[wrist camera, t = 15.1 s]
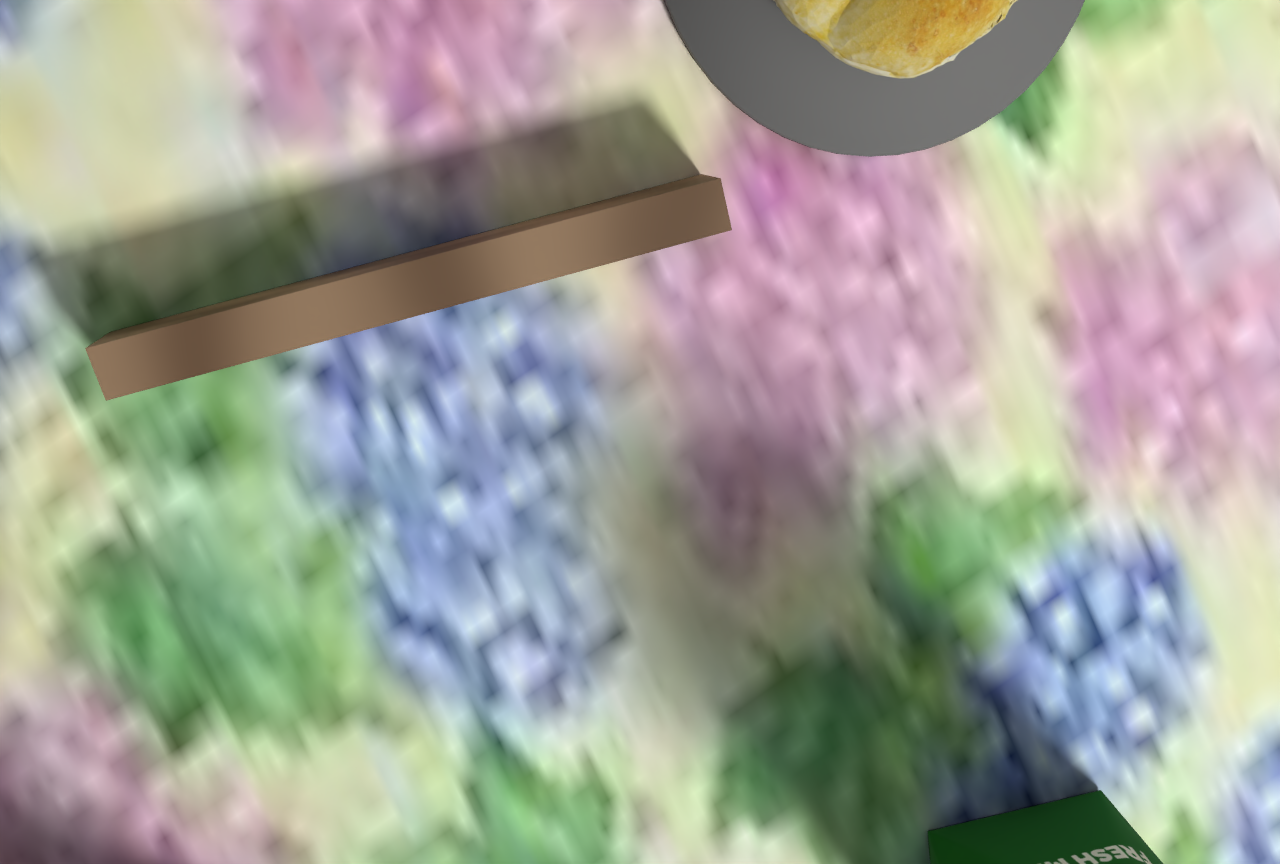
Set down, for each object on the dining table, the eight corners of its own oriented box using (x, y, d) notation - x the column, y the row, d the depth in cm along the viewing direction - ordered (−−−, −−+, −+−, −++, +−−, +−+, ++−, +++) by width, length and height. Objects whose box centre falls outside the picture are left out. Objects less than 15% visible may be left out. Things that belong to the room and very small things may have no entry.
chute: (128, 380, 34) (106, 400, 32) (-85, -170, 30) (-131, -195, 28) (712, 222, 36) (732, 229, 34) (590, -320, 32) (603, -356, 29)
